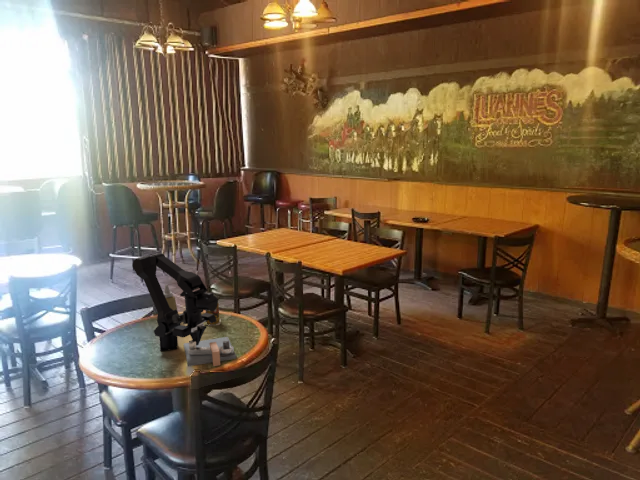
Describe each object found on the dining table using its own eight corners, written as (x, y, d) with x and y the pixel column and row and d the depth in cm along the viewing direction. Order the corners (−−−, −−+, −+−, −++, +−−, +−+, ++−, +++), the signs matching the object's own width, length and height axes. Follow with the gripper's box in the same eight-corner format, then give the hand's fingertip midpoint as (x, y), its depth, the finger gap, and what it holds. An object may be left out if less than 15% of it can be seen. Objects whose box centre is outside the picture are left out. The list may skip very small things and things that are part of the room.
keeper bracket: (213, 366, 186) (212, 352, 185) (210, 356, 194) (209, 342, 193) (220, 365, 186) (219, 351, 185) (216, 355, 195) (215, 341, 194)
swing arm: (234, 350, 196) (233, 338, 195) (232, 355, 191) (231, 342, 190) (191, 350, 196) (190, 339, 195) (187, 356, 191) (186, 343, 190)
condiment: (220, 324, 227) (218, 299, 225) (201, 326, 226) (199, 301, 224) (221, 319, 234) (219, 294, 232) (202, 320, 233) (200, 296, 231)
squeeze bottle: (172, 318, 238) (169, 281, 234) (182, 321, 233) (179, 284, 229) (157, 323, 231) (153, 285, 228) (167, 326, 226) (164, 288, 223)
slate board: (187, 366, 186) (187, 362, 186) (183, 346, 205) (183, 342, 204) (236, 358, 192) (235, 355, 191) (227, 339, 210) (227, 336, 210)
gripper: (194, 297, 204) (197, 333, 208) (159, 312, 188) (164, 350, 192) (215, 301, 199) (218, 337, 202) (181, 316, 183) (185, 356, 186)
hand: (196, 345), depth 196 cm, fingers closed
